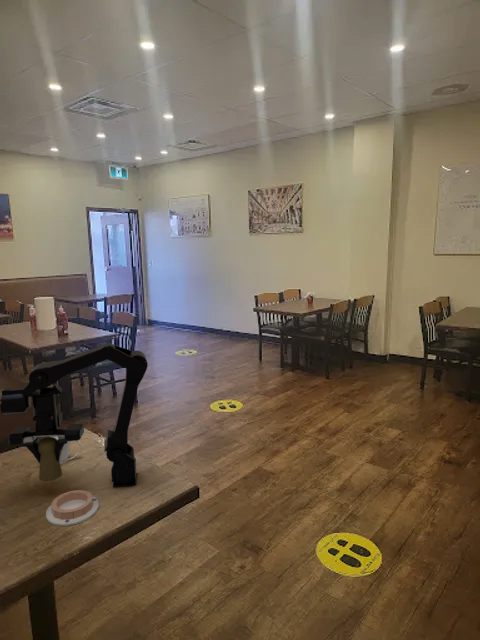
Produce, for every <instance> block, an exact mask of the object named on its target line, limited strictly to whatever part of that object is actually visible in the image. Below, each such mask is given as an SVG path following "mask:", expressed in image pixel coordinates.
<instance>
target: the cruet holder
mask: <svg viewBox="0 0 480 640" xmlns="http://www.w3.org/2000/svg"><path fill="white" fill-rule="evenodd" d="M99 507H100V503H99V500H98V498H97V497H96V496H94V495H93V494H92V493H91V492H90V491H88V490H83V489H79V490H77V489H76V490H70V491H67V492H64V493H61V494H59V495H58V496H57V497H56V498H54V499H53V500H52V503H51V504H50V505H49V507H48V508H47V509H46V512H45V517H46V520H47V522H48V523H49V524H51V525H53V526H58V527H69V526H74V525H79V524H80V523H84V522H85V521H87V520H89V519H91V518H92V517H94V515H95V514H96V513H97V512H98V511H99Z"/></svg>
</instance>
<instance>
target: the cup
mask: <svg viewBox="0 0 480 640" xmlns="http://www.w3.org/2000/svg"><path fill="white" fill-rule="evenodd" d="M54 438H56V439H57V440H58V436H54ZM71 442H72V441H68V442H67V444H64V446H63V450H62V453H61V457H60V461H59V462H60V465H62V464H65V463H67V462H68V461H71V460H73V459H74V458H77V456H79V454H80V453H81V451H82V444H81V442H80V440H78V441H76V442H77V443H78V444H79V450H78V452H76V454H74V455H73V456H72V457H70V458H69V456H70V455H69V454H70V450H71V449H70V448H71Z"/></svg>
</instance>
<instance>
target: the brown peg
mask: <svg viewBox="0 0 480 640" xmlns="http://www.w3.org/2000/svg"><path fill="white" fill-rule="evenodd" d="M56 442H57V439H56V438H54V437H43V438H42V439H40V441H39V443H38V449H39V451H40V452H41V453H40V464H39V472H38V473H39V474H38V475H39V476H38V479H39V480H40V481H41V482H51V481H55V480H57V479H59V478H61V477H62V476H63V471H62V467H61V464H60V462H58V461H57V460H56V444H55V443H56Z"/></svg>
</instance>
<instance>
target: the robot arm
mask: <svg viewBox="0 0 480 640" xmlns="http://www.w3.org/2000/svg"><path fill="white" fill-rule="evenodd" d="M107 360H108V361H110V362H113V363H114V364H116V365H117V366H120V367H121V368H123V369H125V378H124V379H125V380H124V386H123V389H122V390H123V391H122V394H121V399H120V402H119V407H118V411H117V415H116V416H117V417H116V420H115V425H114V427H113V428H112V430H111V429H107V436H106V439H105V440H104V451H103V452H104V453H106V454H105V455H106V458H107V460H108V461H109V462H111V463H112V466H111V468H110V472H111V482H112V488H119V487H131V486H137V480H138V473H137V459H136V457H135V449H134V447H133V446H132V445H131V444H130V443H128V441H129V440H128V438H129V437H128V434H129V429H130V428H129V427H130V424H131V419H132V414H133V409H134V406H135V401H136V397H137V394H138V388H139V386H140V384H141V382H142V380H143V379H144V377H145V374H146V373H147V369H148V367H149V366H148V365H149V364H148V359H147V356H146V355H145V354H144V352H142V351H140V350H130V349H128V348H126V347H122V346H118V345H115V344H114V343H111V342H106V343H104V344H102V345H100V346H98V347H95V348H92V349H88V350H86V351H83V352H82V353H78V354H76V355H73V356H70V357H68V358H67V357H66V358H65V359H60V360H52V361H47V362H46V361H45V362H41V363H38V364H36V365H35V366H34V367H33V368H32V370H31V372H30V373H29V376H28V382H26V383H25V386H24V387H15V388H11V387H10V388H9V387H8V388H7V387H6V388H3V389H2V390H1V398H0V412H1V414H2V415H11V414H20V413H21V414H22V413H27V411H28V409H31V408H33V409H32V410H33V417H32V421H33V422H34V430H31V428H30V426H16V427H15V428H14V429H13V430H12V431H11V432H10V434H8V437H7V441H8V445H9V446H12V445H13V446H14V445H21V444H22V447H25V448H27V449H28V450H29V452H30V453H31V454H32V455H33V456H34V458H35V459H36V461H37V462H38V464H39V465H40V453H41V452H40V451H39V449H38V443H39V441H40V440H41V438H47V437H54V436H58V440H57V442H56V443H55V444H56V460H57V461H58V462H59V461H60V457H61V453H62V450H63V446H64V444H67V442H68V441H71V442H77V441H78V440H79V441H80V440H81V439H82V437H83V435H84V433H85V427H84V425H83V424H82V423H69V424H68V425H67V427H66V428H60V427H61V425H62V424H63V422H64V421H63V415H64V414H63V412H59V411H58V408H57V402H56V401H57V400H56V395H60V394H61V393H62V392H63V387H61V386H60V385H58V384H57V382H58V381H60V380H61V379H63V378H64V377H66V376H68V375H70V374H73V373H74V372H75V373H76V372H77V371H81V370H83V369H86V368H89V367H91V366H95V365H97V364H100V363H102V362H105V361H107Z"/></svg>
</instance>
